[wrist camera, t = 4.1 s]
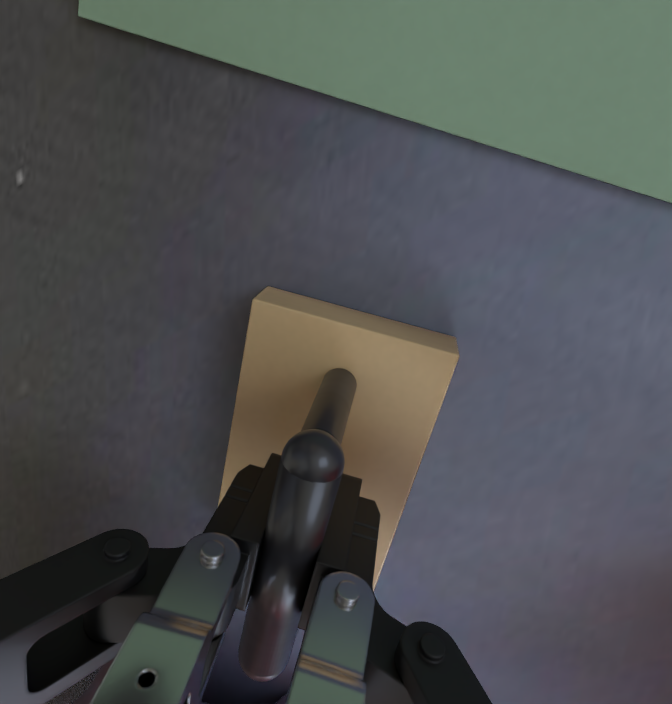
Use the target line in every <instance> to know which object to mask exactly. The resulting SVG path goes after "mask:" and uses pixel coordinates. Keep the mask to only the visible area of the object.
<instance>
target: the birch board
mask: <svg viewBox="0 0 672 704" xmlns="http://www.w3.org/2000/svg"><path fill="white" fill-rule="evenodd" d="M458 359H459V352H458V346H457V341H456V338H455V337H453V336H450V335H446V334H442V333H438V332H435V331H431V330H427V329H424V328H420V327H416V326H413V325H409V324H405V323H402V322H398V321H394V320H391V319H387V318H383V317H380V316H376V315H372V314H369V313H365V312H361V311H358V310H354V309H350V308H347V307H343V306H339V305H335V304H332V303H328V302H324V301H321V300H317V299H313V298H310V297H306V296H302V295H299V294H295V293H291V292H288V291H284V290H280V289H277V288H273V287H269V286H267V287H266V288H265V289H264V290H263V291H261V292H260V293H259V294H258V295H257V296H256V297H255V298H253V300H252V305H251V311H250V317H249V323H248V329H247V335H246V341H245V347H244V353H243V359H242V365H241V371H240V377H239V383H238V389H237V395H236V401H235V407H234V413H233V419H232V425H231V431H230V437H229V443H228V449H227V455H226V461H225V467H224V473H223V479H222V485H221V491H220V497H219V503H218V506H219V504H220V502H221V501H222V499H223V497H224V496H225V494H226V492H227V490H228V488H229V487H230V485H231V483H232V481H233V480H234V478H235V476H236V474H237V473H238V472H239V471H240V470H242V469H243V468H245V467H246V466H248V465H249V464H252V465H255V466H258V467H262V468H264V467H265V465H266V463H267V461H268V459H269V457H270V455H271V453H275V454H279V455H281V459H280V463H279V468H278V472H277V477H276V481H275V486H274V490H273V495H272V499H271V504H270V508H269V513H268V517H267V522H266V526H265V533H264V537H263V542H262V546H261V551H260V555H259V560H258V564H257V569H256V573H255V578H254V582H253V587H252V591H251V596H250V598H249V603H248V607H247V612H246V616H245V621H244V625H243V630H242V634H241V639H240V643H239V649H238V658H239V663H240V666H241V668H242V670H243V672H244V673H245V674H246V675H247V676H248V677H249V678H251V679H253V680H255V681H259V682H265V681H270V680H272V679H274V678H276V677H277V676H279V675H280V673H281V672H282V671H283V670H284V669H285V667H286V665H287V663H288V661H289V658H290V654H291V651H292V647H293V644H294V640H295V637H296V633H297V630H298V624H299V620H300V616H301V612H302V609H303V605H304V602H305V598H306V595H307V591H308V588H309V584H310V581H311V577H312V574H313V570H314V567H315V564H316V560H317V557H318V553H319V550H320V547H321V545H322V543H323V540H324V536H325V533H326V530H327V526H328V523H329V519H330V516H331V512H332V509H333V505H334V502H335V498H336V495H337V492H338V488H339V485H340V481H341V478H342V474H343V473H344V474H347V475H350V476H354V477H357V478H361V479H362V484H361V490H360V495H359V496H360V497H364V498H367V499H370V500H374V501H375V502H376V505H377V507H378V510H379V512H380V515H381V516H380V524H379V533H378V541H377V551H376V560H375V568H374V577H373V592H374V589H375V586H376V584H377V581H378V578H379V575H380V573H381V570H382V567H383V564H384V562H385V559H386V556H387V553H388V551H389V548H390V545H391V543H392V540H393V537H394V534H395V532H396V529H397V526H398V523H399V521H400V518H401V515H402V512H403V510H404V507H405V504H406V501H407V499H408V496H409V493H410V490H411V488H412V485H413V482H414V479H415V477H416V474H417V471H418V469H419V466H420V463H421V460H422V458H423V455H424V452H425V449H426V447H427V444H428V441H429V438H430V436H431V433H432V430H433V427H434V425H435V422H436V419H437V416H438V414H439V411H440V408H441V405H442V403H443V400H444V397H445V395H446V392H447V389H448V386H449V384H450V381H451V378H452V375H453V373H454V370H455V367H456V364H457V362H458Z"/></svg>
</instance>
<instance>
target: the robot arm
mask: <svg viewBox="0 0 672 704" xmlns="http://www.w3.org/2000/svg"><path fill="white" fill-rule="evenodd" d="M280 459H281V455H279V454H275V453H271V455H270V457H269V459H268V461H267V463H266V465H265V467H264V468H262V467H258V466H255V465H252V464H249V465H248V466H246V467H245V468H243V469H242V470H240V471H239V472H238V473H237V474H236V476H235V478H234V480H233V481H232V483H231V485H230V487H229V488H228V490H227V492H226V494H225V496H224V497H223V499H222V501H221V502H220V504H219V506H218V508H217V509H216V511H215V513H214V515H213V516H212V518H211V520H210V522H209V523H208V525H207V527H206V529H205V530H204V532H203V533H202V534H200V535H197V536H195V537H194V538H192V539H191V540H190V541H189V542H188V543H187V544H186V546H183V547H179V548H149V545H148V542H147V540H146V539H145V537H144V536H142V535H141V534H140V533H138V532H136V531H133V530H129V529H115V530H110V531H107V532H104V533H102V534H100V535H97V536H95V537H93V538H91V539H89V540H86V541H84V542H82V543H80V544H78V545H75V546H73V547H71V548H69V549H67V550H64V551H62V552H60V553H58V554H56V555H53V556H51V557H49V558H47V559H45V560H42V561H40V562H38V563H36V564H34V565H31V566H29V567H27V568H25V569H22V570H20V571H18V572H16V573H14V574H11V575H9V576H7V577H5V578H3V579H0V704H45V703H46V702H48V701H49V700H51V699H53V698H54V697H56V696H57V695H59V694H60V693H62V692H63V691H65V690H66V689H68V688H69V687H71V686H72V685H74V684H75V683H77V682H79V681H80V680H82V679H83V678H85V677H86V676H88V675H89V674H91V673H92V672H94V671H95V670H97V669H98V668H100V667H101V666H103V665H104V664H106V663H108V662H109V661H111V660H112V659H114V658H115V659H114V661H113V662H112V664H111V666H110V668H109V669H108V671H107V673H106V675H105V677H104V678H103V680H102V682H101V684H100V686H99V687H98V689H97V691H96V693H95V694H94V696H93V698H92V700H91V702H90V703H89V704H200V702H201V699H202V697H203V694H204V691H205V688H206V686H207V683H208V680H209V677H210V675H211V672H212V669H213V666H214V664H215V661H216V658H217V655H218V653H219V650H220V647H221V644H222V641H223V639H224V636H225V632H226V629H227V627H228V625H229V623H230V621H231V618H232V616H233V614H234V611H235V609H239V610H242V611H245V609H246V606H247V604H248V601H249V598H250V596H251V591H252V587H253V582H254V578H255V573H256V569H257V564H258V560H259V555H260V551H261V546H262V542H263V537H264V533H265V526H266V522H267V517H268V513H269V508H270V504H271V499H272V495H273V490H274V486H275V481H276V477H277V472H278V468H279V463H280ZM361 484H362V479H361V478H357V477H354V476H350V475H347V474H344V473H343V474H342V478H341V481H340V485H339V488H338V492H337V495H336V498H335V502H334V505H333V509H332V512H331V516H330V519H329V523H328V526H327V530H326V533H325V536H324V540H323V543H322V545H321V547H320V550H319V553H318V557H317V560H316V564H315V567H314V570H313V574H312V577H311V581H310V584H309V588H308V591H307V595H306V598H305V602H304V605H303V609H302V612H301V616H300V620H299V624H298V628H300V629H303V630H305V633H304V637H303V641H302V645H301V649H300V652H299V655H298V659H297V662H296V666H295V669H294V673H293V676H292V680H291V683H290V687H289V690H288V694H287V697H286V701H285V704H492V702H491V701H490V699H489V697H488V696H487V694H486V692H485V691H484V689H483V688H482V686H481V684H480V683H479V681H478V679H477V678H476V676H475V674H474V673H473V671H472V669H471V668H470V666H469V664H468V663H467V661H466V660H465V658H464V656H463V655H462V653H461V651H460V650H459V648H458V646H457V645H456V643H455V642H454V640H453V639H452V638H451V636H450V635H449V634H448V633H447V632H445V631H444V630H443V629H442V628H440V627H438V626H436V625H434V624H432V623H428V622H415V623H412V624H410V625H408V626H407V627H406V626H405V625H403V624H402V623H400V622H399V621H397V620H396V619H394V618H393V617H391V616H390V615H388V614H387V613H386V612H385V611H384V610H383V609H382V607H381V606H380V605H379V603H378V602H377V600H376V598H375V595H374V592H373V577H374V568H375V560H376V551H377V541H378V533H379V524H380V516H381V515H380V512H379V510H378V507H377V505H376V502H375V501H374V500H370V499H367V498H364V497H360V496H359V495H360V490H361Z"/></svg>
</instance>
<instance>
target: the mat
mask: <svg viewBox="0 0 672 704" xmlns="http://www.w3.org/2000/svg"><path fill="white" fill-rule="evenodd" d="M78 16H79V17H82V18H85V19H88V20H91V21H95V22H98V23H101V24H104V25H107V26H110V27H114V28H117V29H120V30H123V31H126V32H129V33H133V34H136V35H139V36H142V37H145V38H149V39H152V40H155V41H158V42H161V43H164V44H168V45H171V46H174V47H177V48H180V49H183V50H187V51H190V52H193V53H196V54H199V55H202V56H206V57H209V58H212V59H215V60H218V61H222V62H225V63H228V64H231V65H234V66H237V67H241V68H244V69H247V70H250V71H253V72H256V73H260V74H263V75H266V76H269V77H272V78H275V79H279V80H282V81H285V82H288V83H291V84H295V85H298V86H301V87H304V88H307V89H310V90H314V91H317V92H320V93H323V94H326V95H329V96H333V97H336V98H339V99H342V100H345V101H349V102H352V103H355V104H358V105H361V106H364V107H368V108H371V109H374V110H377V111H380V112H383V113H387V114H390V115H393V116H396V117H399V118H402V119H406V120H409V121H412V122H415V123H418V124H422V125H425V126H428V127H431V128H434V129H437V130H441V131H444V132H447V133H450V134H453V135H456V136H460V137H463V138H466V139H469V140H472V141H475V142H479V143H482V144H485V145H488V146H491V147H495V148H498V149H501V150H504V151H507V152H510V153H514V154H517V155H520V156H523V157H526V158H529V159H533V160H536V161H539V162H542V163H545V164H549V165H552V166H555V167H558V168H561V169H564V170H568V171H571V172H574V173H577V174H580V175H583V176H587V177H590V178H593V179H596V180H599V181H602V182H606V183H609V184H612V185H615V186H618V187H622V188H625V189H628V190H631V191H634V192H637V193H641V194H644V195H647V196H650V197H653V198H656V199H660V200H663V201H666V202H669V203H672V0H79V7H78Z"/></svg>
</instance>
